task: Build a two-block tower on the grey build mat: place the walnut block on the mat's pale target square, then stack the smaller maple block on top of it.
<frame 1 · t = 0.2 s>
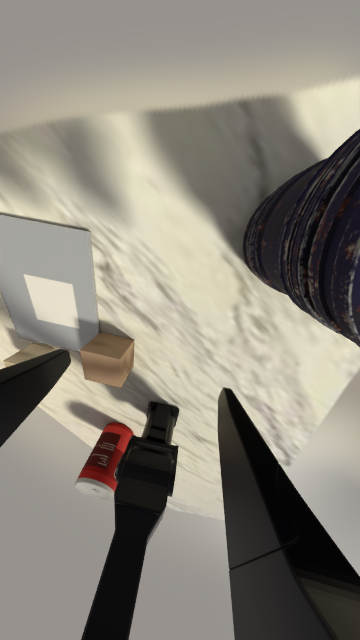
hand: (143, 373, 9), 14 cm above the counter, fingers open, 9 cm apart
build mat: (48, 294, 24), on the counter
maple block: (46, 354, 31), on the counter
walnut block: (117, 349, 28), on the counter
canned food: (120, 430, 40), on the counter
black jar: (289, 238, 17), on the counter
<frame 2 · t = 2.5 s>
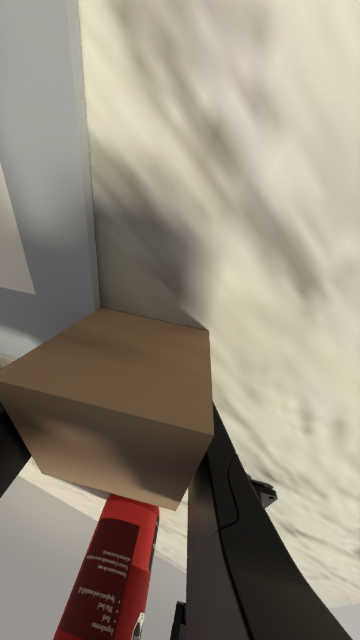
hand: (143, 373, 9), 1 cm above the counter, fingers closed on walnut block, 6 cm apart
walnut block: (149, 360, 10), on the counter, touching gripper
canned food: (135, 500, 22), on the counter
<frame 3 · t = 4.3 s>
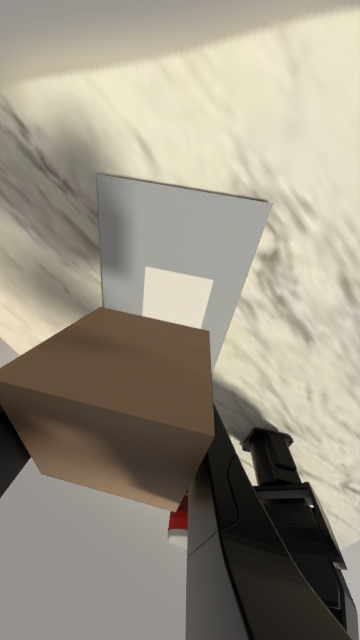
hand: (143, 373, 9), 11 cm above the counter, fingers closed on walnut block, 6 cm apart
build mat: (167, 294, 19), on the counter
walnut block: (149, 360, 10), point 10 cm above the counter, touching gripper
canned food: (195, 457, 34), on the counter
when the fingers open (2 cm above the counter, at t = 6.4 s): walnut block stays where it is, resting on build mat.
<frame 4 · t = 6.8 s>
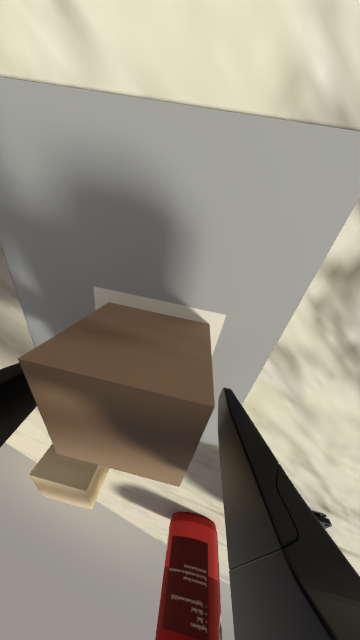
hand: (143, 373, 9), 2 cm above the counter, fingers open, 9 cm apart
build mat: (141, 333, 10), on the counter
maple block: (99, 428, 17), on the counter
walnut block: (153, 353, 10), point 1 cm above the counter, touching build mat
canned food: (193, 519, 26), on the counter
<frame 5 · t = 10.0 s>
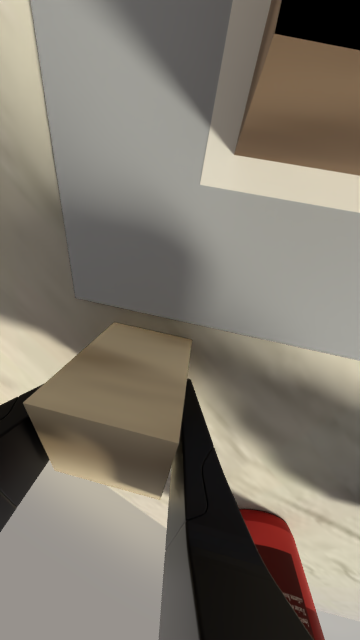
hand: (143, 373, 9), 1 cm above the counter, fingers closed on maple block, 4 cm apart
maple block: (149, 361, 10), on the counter, touching gripper
canned food: (254, 518, 19), on the counter
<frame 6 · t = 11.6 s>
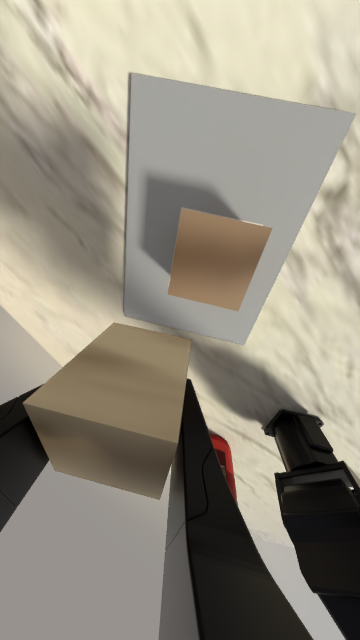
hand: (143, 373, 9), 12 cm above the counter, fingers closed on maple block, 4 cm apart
build mat: (203, 246, 16), on the counter
maple block: (149, 361, 10), point 11 cm above the counter, touching gripper
walnut block: (210, 259, 16), point 1 cm above the counter, touching build mat
canned food: (210, 443, 32), on the counter
when the fingers open (8 cm above the counter, at t = 13.2 s): maple block drops 1 cm, resting on walnut block.
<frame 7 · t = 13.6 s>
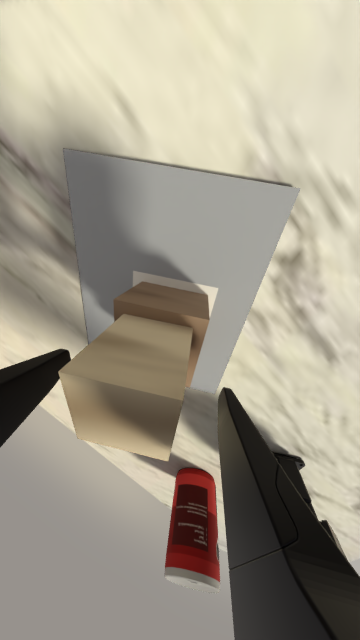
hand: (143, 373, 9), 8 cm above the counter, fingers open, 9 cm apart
build mat: (161, 304, 15), on the counter
maple block: (155, 349, 11), point 6 cm above the counter, touching walnut block
walnut block: (170, 317, 15), point 1 cm above the counter, touching build mat, maple block
canned food: (195, 475, 31), on the counter
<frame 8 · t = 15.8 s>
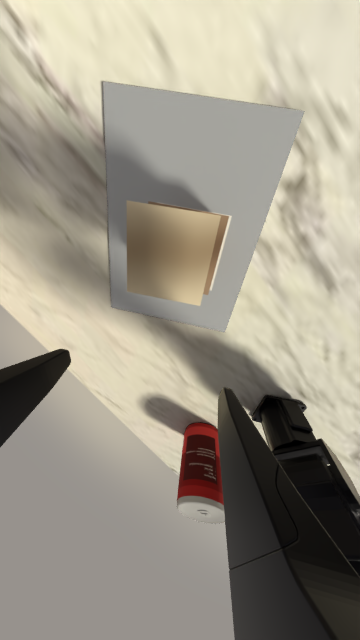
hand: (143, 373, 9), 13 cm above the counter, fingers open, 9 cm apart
build mat: (179, 238, 17), on the counter
maple block: (180, 253, 13), point 6 cm above the counter, touching walnut block
walnut block: (187, 250, 17), point 1 cm above the counter, touching build mat, maple block
canned food: (202, 432, 33), on the counter
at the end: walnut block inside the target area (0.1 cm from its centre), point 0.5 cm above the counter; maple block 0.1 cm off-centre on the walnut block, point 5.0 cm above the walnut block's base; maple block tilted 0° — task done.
